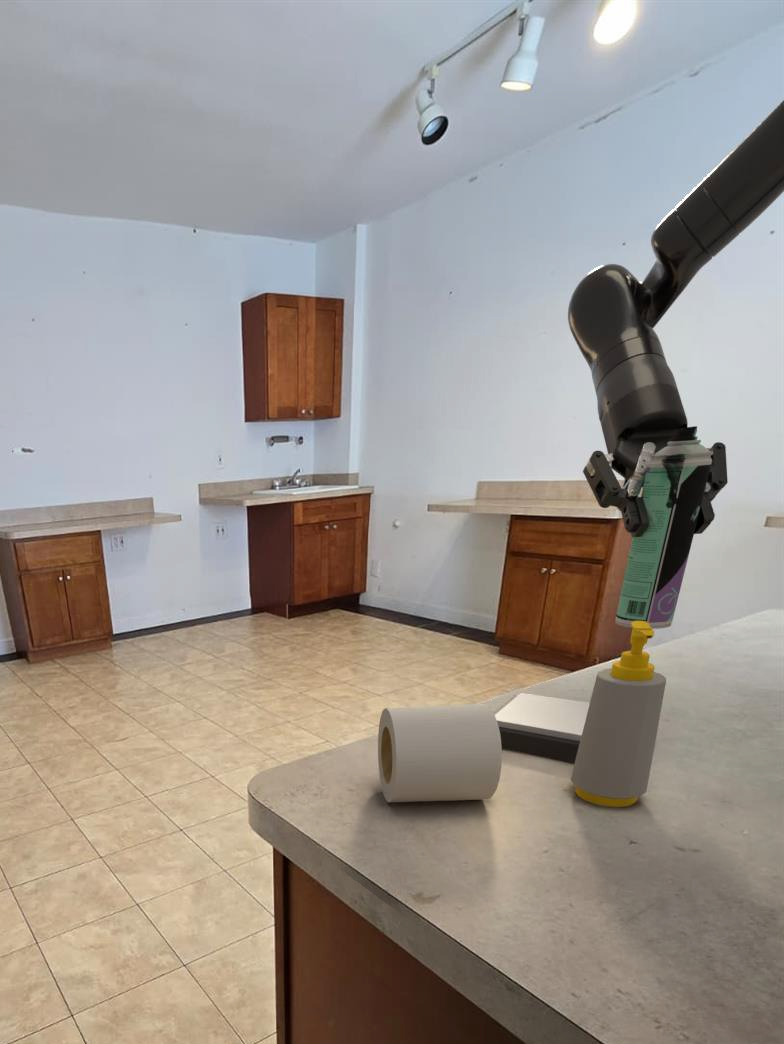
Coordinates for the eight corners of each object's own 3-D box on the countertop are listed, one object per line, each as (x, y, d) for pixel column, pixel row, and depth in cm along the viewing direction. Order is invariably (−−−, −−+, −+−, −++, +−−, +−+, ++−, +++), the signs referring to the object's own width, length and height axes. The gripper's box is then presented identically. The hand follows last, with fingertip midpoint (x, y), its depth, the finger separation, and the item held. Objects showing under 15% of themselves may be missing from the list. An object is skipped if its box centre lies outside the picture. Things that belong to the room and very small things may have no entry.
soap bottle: (571, 806, 65) (605, 632, 58) (565, 777, 71) (594, 616, 63) (651, 814, 63) (697, 633, 55) (637, 784, 68) (677, 616, 61)
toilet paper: (464, 774, 73) (474, 691, 69) (494, 816, 64) (507, 724, 60) (376, 777, 74) (380, 695, 70) (393, 819, 65) (398, 728, 61)
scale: (645, 733, 80) (651, 709, 79) (620, 772, 71) (626, 746, 70) (512, 711, 90) (515, 689, 89) (475, 743, 81) (478, 720, 80)
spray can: (677, 629, 70) (729, 423, 61) (619, 628, 72) (662, 428, 63) (664, 618, 74) (711, 425, 66) (610, 617, 76) (649, 429, 68)
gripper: (587, 386, 70) (617, 509, 65) (728, 375, 69) (771, 500, 63) (559, 442, 77) (584, 557, 72) (686, 432, 76) (722, 549, 70)
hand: (671, 530), depth 67 cm, fingers closed on spray can, 5 cm apart
